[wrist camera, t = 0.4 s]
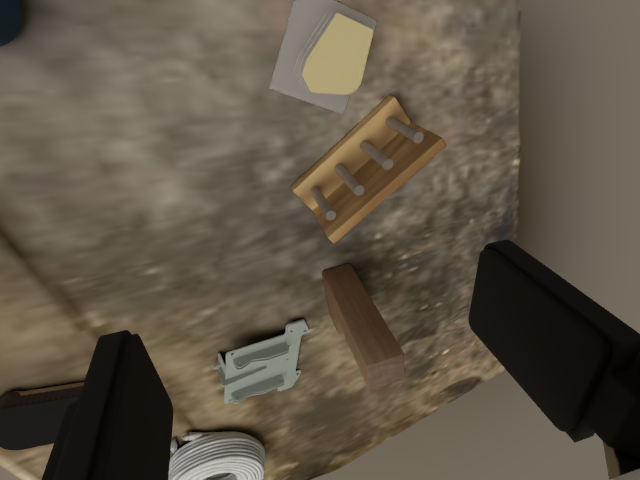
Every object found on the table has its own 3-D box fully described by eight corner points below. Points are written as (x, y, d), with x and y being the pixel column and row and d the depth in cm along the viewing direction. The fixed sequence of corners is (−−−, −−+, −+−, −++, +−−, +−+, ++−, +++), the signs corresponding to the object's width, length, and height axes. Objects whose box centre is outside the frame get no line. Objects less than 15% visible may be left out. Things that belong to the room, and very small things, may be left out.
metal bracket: (222, 424, 56) (225, 353, 49) (210, 394, 60) (211, 325, 53) (304, 390, 64) (316, 325, 57) (288, 366, 68) (298, 302, 61)
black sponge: (12, 429, 54) (1, 453, 51) (-9, 390, 49) (-22, 415, 46) (136, 407, 58) (132, 429, 55) (126, 370, 54) (122, 392, 51)
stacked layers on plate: (299, -18, 36) (313, -23, 31) (377, 21, 39) (400, 22, 35) (269, 88, 40) (277, 97, 35) (342, 114, 43) (358, 126, 39)
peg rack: (290, 186, 46) (306, 217, 39) (389, 94, 43) (425, 109, 36) (315, 211, 49) (334, 244, 42) (410, 125, 46) (447, 145, 39)
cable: (167, 431, 63) (164, 467, 58) (269, 419, 68) (274, 451, 63) (167, 488, 71) (164, 524, 66) (258, 473, 77) (262, 505, 72)
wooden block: (356, 306, 59) (407, 402, 45) (329, 314, 59) (372, 415, 44) (349, 261, 55) (405, 353, 40) (320, 270, 54) (366, 367, 39)
